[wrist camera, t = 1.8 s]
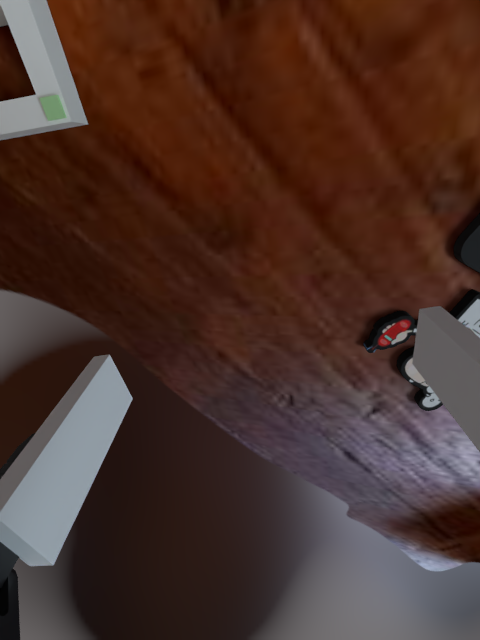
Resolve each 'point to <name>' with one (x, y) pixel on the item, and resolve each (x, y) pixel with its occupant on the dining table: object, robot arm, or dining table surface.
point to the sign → (472, 311)
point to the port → (39, 74)
